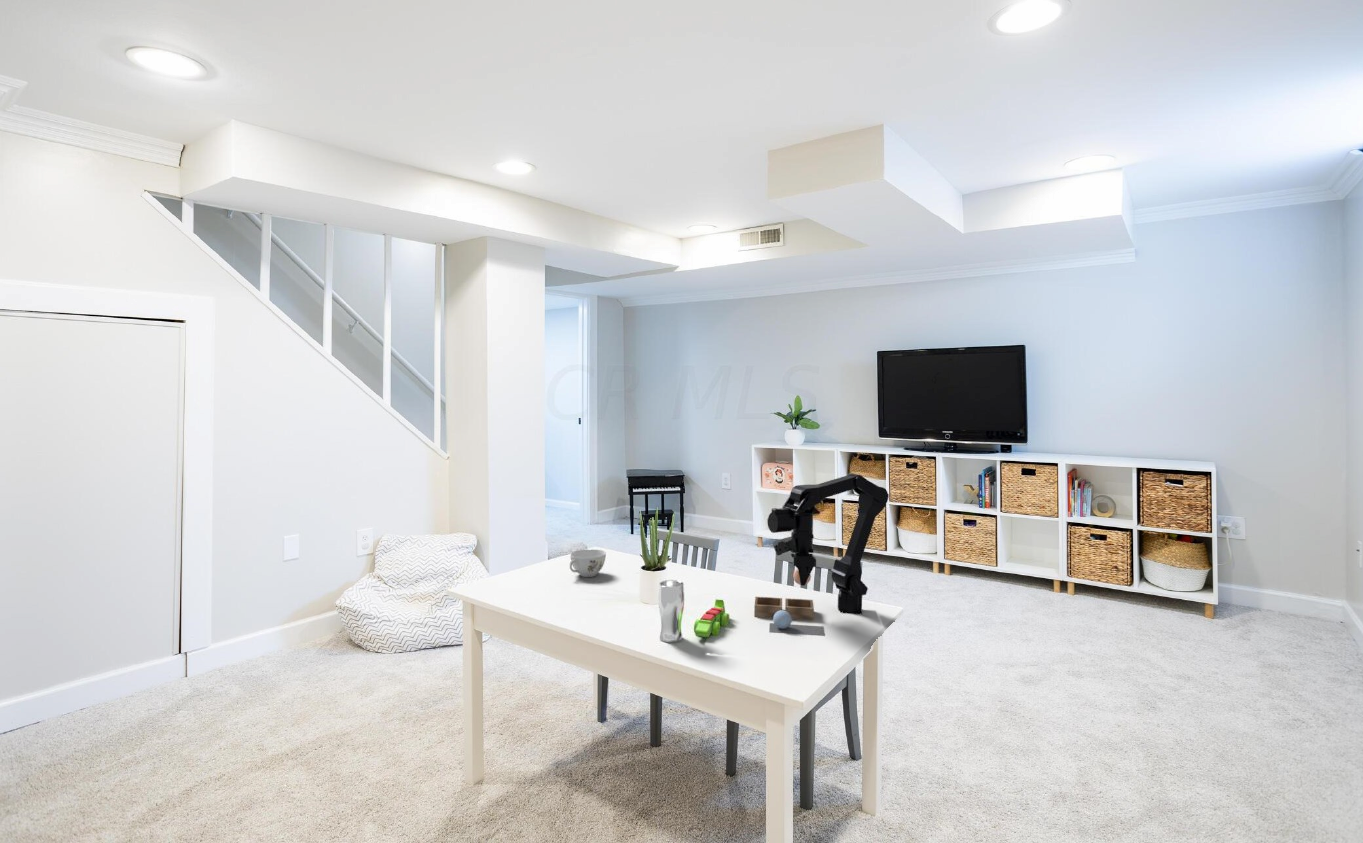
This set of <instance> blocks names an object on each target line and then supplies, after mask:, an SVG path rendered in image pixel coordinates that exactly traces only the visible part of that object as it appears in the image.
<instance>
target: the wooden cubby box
mask: <svg viewBox="0 0 1363 843" xmlns="http://www.w3.org/2000/svg"><path fill="white" fill-rule="evenodd" d="M784 602H785V607H784V609H785V610H784V611H787V612H788V613H789V614H790V616H791V620H801V621H814V620H815V619H814V618H815V615H814V614H815V607H814V599H806V598H804V599H803V598H787V597H786V598H785V600H784Z"/></svg>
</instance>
